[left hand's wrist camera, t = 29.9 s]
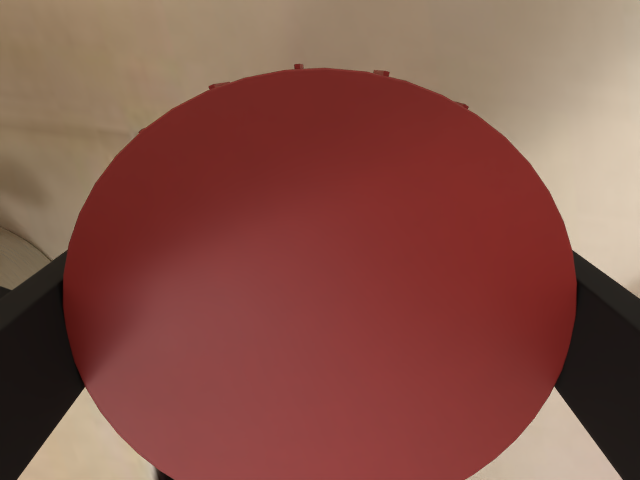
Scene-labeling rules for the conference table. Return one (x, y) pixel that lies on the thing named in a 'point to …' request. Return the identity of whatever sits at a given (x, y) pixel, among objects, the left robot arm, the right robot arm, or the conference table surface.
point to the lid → (319, 284)
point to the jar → (18, 259)
